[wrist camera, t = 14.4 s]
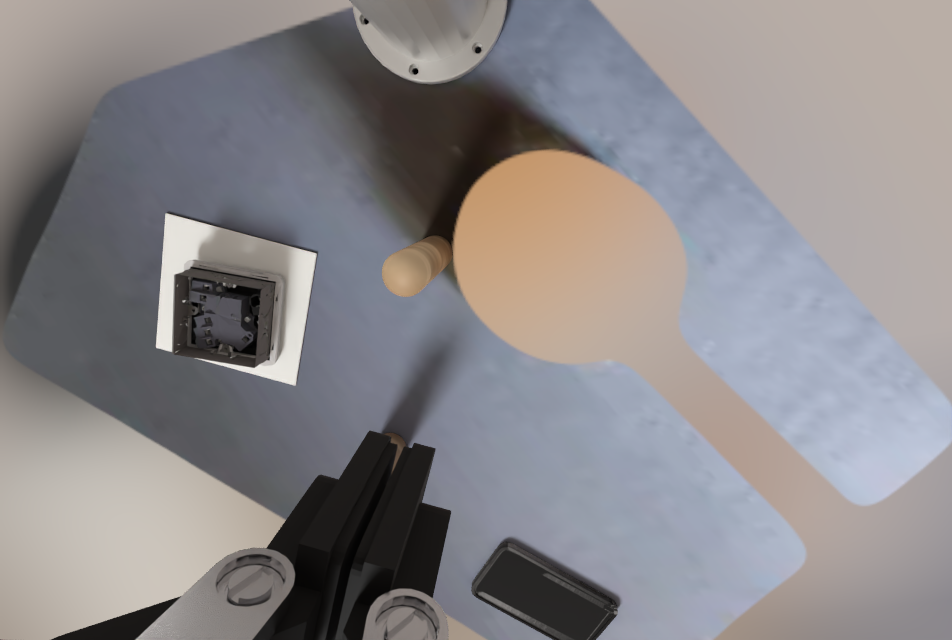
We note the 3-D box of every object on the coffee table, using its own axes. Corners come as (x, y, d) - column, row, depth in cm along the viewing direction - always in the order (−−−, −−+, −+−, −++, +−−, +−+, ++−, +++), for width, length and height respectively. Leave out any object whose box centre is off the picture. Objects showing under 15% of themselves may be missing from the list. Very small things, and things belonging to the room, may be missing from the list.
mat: (166, 213, 47) (165, 213, 47) (317, 253, 47) (316, 253, 47) (157, 347, 51) (155, 347, 51) (295, 384, 51) (295, 385, 50)
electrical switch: (288, 275, 47) (202, 256, 49) (255, 282, 42) (160, 261, 44) (281, 365, 50) (199, 345, 51) (249, 382, 45) (159, 359, 46)
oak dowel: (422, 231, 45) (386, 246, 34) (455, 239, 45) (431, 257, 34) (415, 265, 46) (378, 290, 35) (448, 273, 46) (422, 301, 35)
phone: (582, 655, 55) (467, 592, 55) (580, 646, 57) (468, 585, 56) (622, 608, 53) (504, 543, 52) (620, 600, 54) (504, 535, 54)
